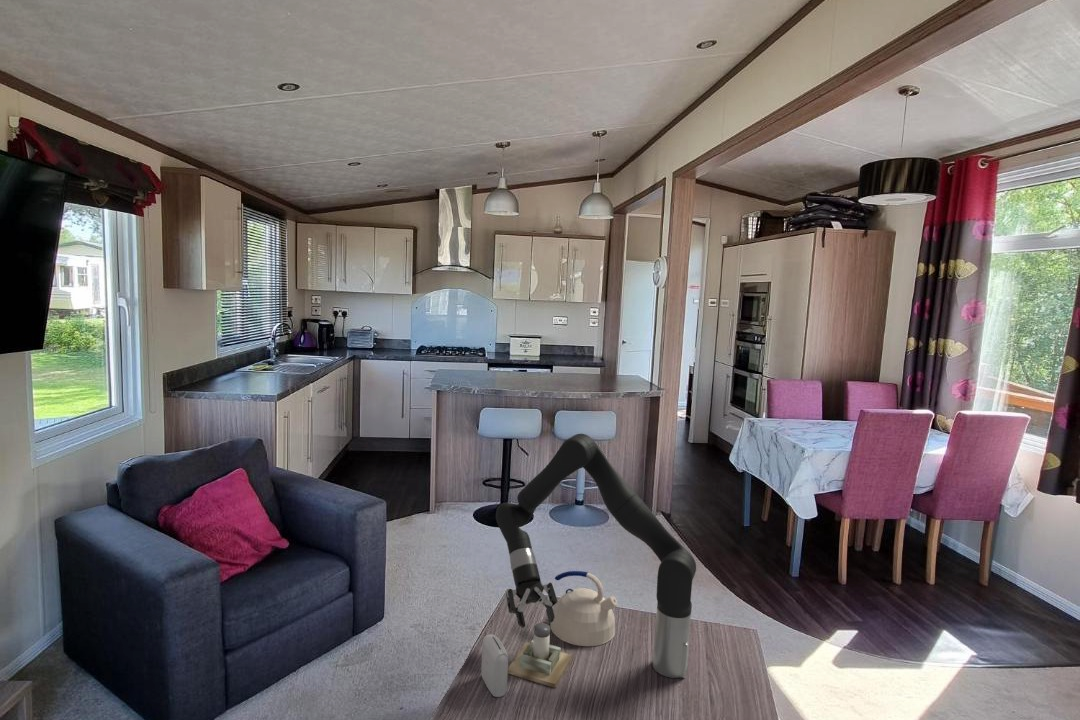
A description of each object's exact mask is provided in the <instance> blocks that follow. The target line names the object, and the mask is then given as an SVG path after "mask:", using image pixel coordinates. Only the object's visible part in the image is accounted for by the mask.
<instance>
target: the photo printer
mask: <svg viewBox="0 0 1080 720" xmlns="http://www.w3.org/2000/svg"><path fill="white" fill-rule="evenodd" d="M481 644H482V647H481V668H480V669H481V670H480V671H481V674H480V675H481V678H482V680H483V683H484V684H485V686H486V687H487V689H488V691H489V692H490V693H491V695H492V696H493V697H496V698H501V697H503V696H505V695H506V693H507V692H508V675H509V674H508V667H509V655H508V654H509V653H508V651H507V650H506V648H505V645H504V644H503V642H502V641H501V640H500V638H499V637H497V635H495V634H492V633H490V634H487V635H485V636H484V638H483V639H482V643H481Z"/></svg>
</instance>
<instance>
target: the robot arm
mask: <svg viewBox="0 0 1080 720" xmlns="http://www.w3.org/2000/svg"><path fill="white" fill-rule="evenodd" d="M579 469H584V470H585V471H586V472H587V473H588V474H589V476H590V477H591V478H592V480H593V481H594V482H595V484H596V486H597V488H598V491H599V493H600V495H601V499H602V501H603V502H604V505H605V506H606V508H607V511H608V512H609V513H610V514H611V515H612V517H613V518H614V519H615V520H616V521H617V523H618V524H619V525H620V527H622V528H623V529H624V530H625V531H627V532H628V533H629V534H631V535H632V536H634V537H635V538H636V539H639V540H640V541H642V542H644V544H646V545H647V546H648V547H649V548H650V550H651V551H652V552H653V554H655V555H656V557H657V558H658V560H659V561H660V563H659V566H658V570H657V579H656V580H657V581H656V582H657V583H656V600H657V603H656V604H657V605H656V615H655V616H656V617H655V630H654V643H653V656H652V667H653V670H655V672H657V673H658V674H659V675H661V676H664V677H666V678H670V679H671V678H673V679H677V678H681V679H682V678H683V679H685V678H686V674H687V669H688V664H689V653H690V641H691V639H690V638H691V634H690V630H691V617H692V616H691V615H692V608H693V605H692V601H691V599H692V588H693V586H692V585H693V580H694V577H695V575H696V572H697V563H696V560H695V559H694V556H693V555H692V553H690V551H688V550H687V549H686V548H685V547H684V546H683V545H682V544H681V543H680V542H679V541H678V540H677V539H676V538H675V537H674V536H673V535H672V534H671V533H670V532H669V531H668V530H667V529H666V527H665V526H663V524H662V522H661V521H660V520H659V519H658V518H657V516H655V514H654V513H653V512H652V511H651V509H649V507H648V505H647V504H646V503H645V502H644V501H643V499H642V498H641V497H640V496H639V495H638V493H636V491H634V489H633V488H632V487H631V486H630V484H628V482H626V480H625V479H624V478H623V477H622V475H621V474H620V473H619V472H618V471H617V470H616V468H614V466H613V465H612V464H611V463H610V461H609V459H608V458H607V457H606V455H605V454H604V453H603V451H602V449H601V448H600V446H599V445H598V443H596V440H594V439H593V438H592V437H591V436H589V435H588V434H585V433H576V434H574V435H572V436H570V437H569V438H568V439H565V440H564V441H563V442H562V444H561V446H559V448H558V450H557V451H556V453H555V454H554V455H553V457H552V459H551V460H550V461H549V463H547V465H545V467H544V468H543V469H542V470H541V471H540V472H538V474H537V475H536V476H534V477H533V479H531V480H530V481H529V482H528V483H527V484H526V485H525V486H524V487H523V488H522V489H521V490H520V491H519V493H518V494H517V498H516V500H517V503H511V502H503V503H501V504H499V505H498V507H497V508H496V511H495V520H496V524H497V525H498V528H499V530H500V532H501V534H502V536H503V539H504V540H505V541H506V544H507V545H506V546H507V550H508V554H509V562H510V569H511V573H512V577H513V581H514V585H515V589H512V588H509V589H508V590H507V591H506V593H505V595H506V603H507V609H508V613H509V614H515V617H516V620H517V625H518V627H520V628H521V629H524V628H525V627H526V621H525V616H524V612H523V611H522V610H523V608H524V606H525V604H526V605H529V604H531V603H533V604H535V603H539V604H540V605H542V606H543V607H545V613H546V616H547V620H548V621H547V622H548V624H550V623H551V622H553V621H554V618H555V616H554V612H553V609H554V607H555V605H556V603H557V601H558V598H557V595H556V592H555V589H554V586H553V582H548V583H546V584H543V583H542V579H541V575H540V571H539V567H538V564H537V560H536V556H535V554H534V551H533V548H532V543H531V542H532V541H531V539H530V535H529V534H528V532H527V531H525V530H523V529H522V527H524V526H525V525H527V524H528V523H529V521H530V520H531V519H532V516H533V515H534V513H535V511H536V509H537V508H538V507H539V506H540V505H541V504H542V503H543V502H544V501H545V500H546V499H547V498H549V496H550V495H551V494H552V493H553V491H554V490H555V489H556V488H557V487H558V485H559V484H560V483H561V482H562V481H563V480H565V479H566V478H567V477H569V476H570V475H572V474H573V473H575V472H577V471H578V470H579ZM544 591H545V592H546V594H547V595H545V593H543V592H544ZM515 596H517V598H519V601H518V604H517V607H516V605H515ZM547 596H548V597H547Z"/></svg>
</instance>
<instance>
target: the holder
mask: <svg viewBox="0 0 1080 720" xmlns="http://www.w3.org/2000/svg"><path fill="white" fill-rule="evenodd" d="M533 642H534V639H532V640H531V641H530V642H525V644H524V645H523V647H522V648H521V650H520V651H519V653H518V654H517V655H516V656H515V658H514V659H513V660H512V661H511V663H510V664H509V665H508V674H507V675H513V676H516V677H518V678H521V679H525V680H529V681H532V682H536V683H537V684H540V685H541V684H542V685H545V686H548V687H551V688H554V689H555V688H557V686H558V684H559V682H560V680H561V679H562V677H563V675H564V674H565V672H566V670H567V669H568V666H569V665H570V663H572V662H571V661H572V660H573V655H572V654H570V653H567V652H562V648H561V647H559V646H557V645H552V644H549V660H548V661H545V660H542V659H538V658H535V657H533Z"/></svg>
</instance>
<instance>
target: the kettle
mask: <svg viewBox="0 0 1080 720" xmlns="http://www.w3.org/2000/svg"><path fill="white" fill-rule="evenodd" d="M567 577H583V578H587V579H589V580H591V581H592V583H594V584H595V586H596V590H597V591H595V589H591V588H587V587H586V588H585V587H579V588H574V589H572V588H568V589H566V590H565V593H564V594H563V595H561V597H559V599H557V603H556V604H555V605H554V606H553V612H554V616H555V618H554V621H553V622H551V623H549V624H550V625H549V626H550V631H551V632H552V633H553V634H554V635H555V636H556V637H557V639H560V640H561V641H563V642H565V643H568V644H570V645H574V646H578V647H597V646H601V645H603V644H606V643H607V642H610V641H611V640H612V639H613V638H614V636H615V634H616V623H615V621H616V619H615V614H614V611H613V609H614V608H616V607H617V606H618V600H617V598H616V597H615V596H614V595H610V596H609V597H608V598H605V597H604V587H603V584H602V583H601V581H600V579H599V578H597V576H596V575H594V574H593V573H590V572H588V571H582V570H569V571H565V572H562V573H559V574H558V575H556V576H555V577H554V580H555V581H560V580H562V579H564V578H567Z"/></svg>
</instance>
